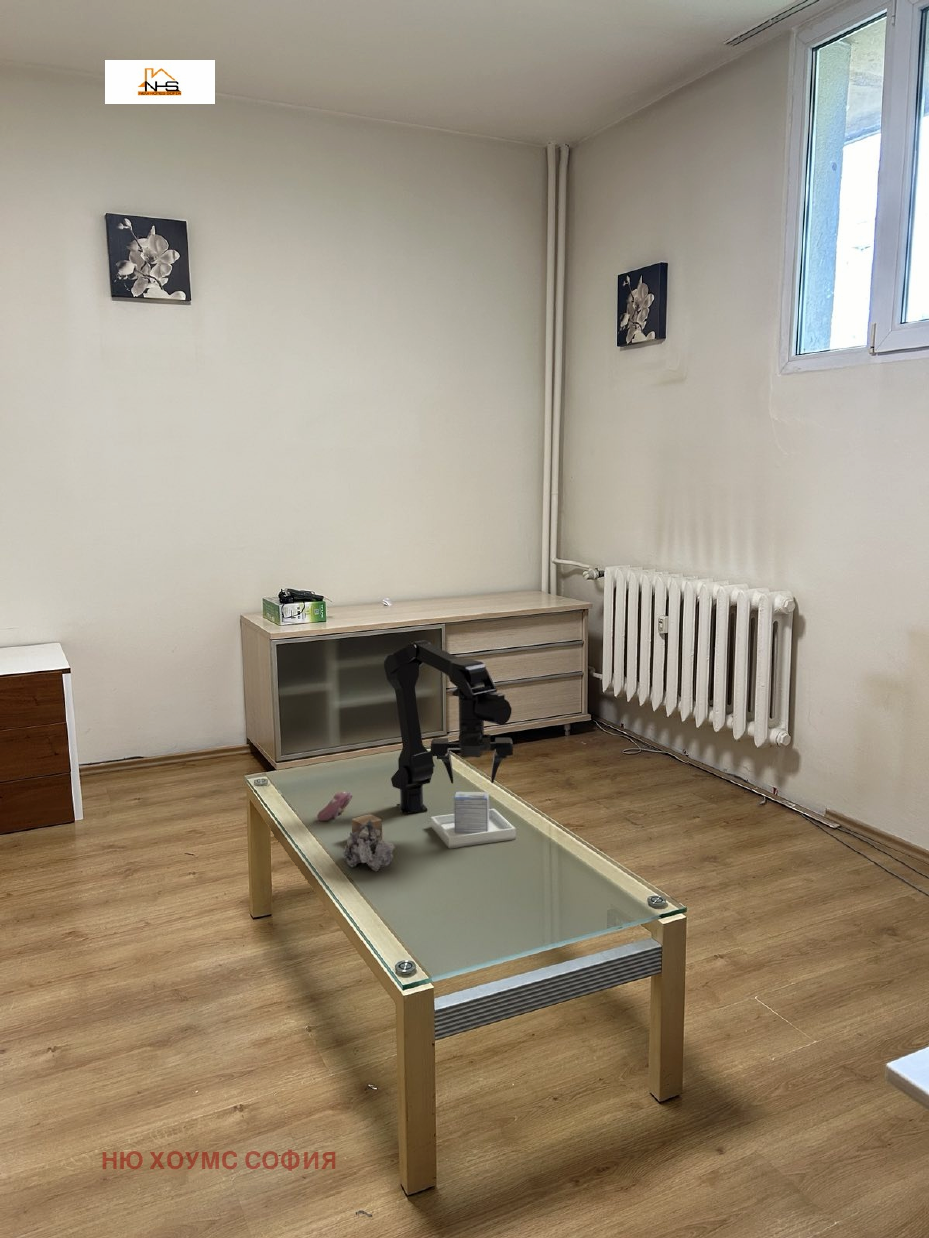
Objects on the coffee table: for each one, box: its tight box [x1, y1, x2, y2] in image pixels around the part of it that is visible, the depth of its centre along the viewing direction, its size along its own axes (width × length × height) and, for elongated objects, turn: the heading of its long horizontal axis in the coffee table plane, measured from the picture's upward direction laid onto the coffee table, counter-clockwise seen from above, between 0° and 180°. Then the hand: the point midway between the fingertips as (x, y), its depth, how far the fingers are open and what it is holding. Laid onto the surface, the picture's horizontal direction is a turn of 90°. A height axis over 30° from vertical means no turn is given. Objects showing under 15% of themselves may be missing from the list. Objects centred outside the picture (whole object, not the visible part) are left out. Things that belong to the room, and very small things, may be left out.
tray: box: [430, 808, 517, 849], centre depth 215 cm, size 14×16×2 cm
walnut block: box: [351, 813, 383, 842], centre depth 211 cm, size 5×5×5 cm
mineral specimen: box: [343, 820, 396, 873], centre depth 197 cm, size 13×10×11 cm
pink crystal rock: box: [316, 790, 353, 822], centre depth 227 cm, size 10×5×7 cm, turn 163°
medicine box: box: [453, 791, 490, 833], centre depth 214 cm, size 8×4×9 cm, turn 85°
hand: (472, 782), depth 213 cm, fingers open, 9 cm apart
